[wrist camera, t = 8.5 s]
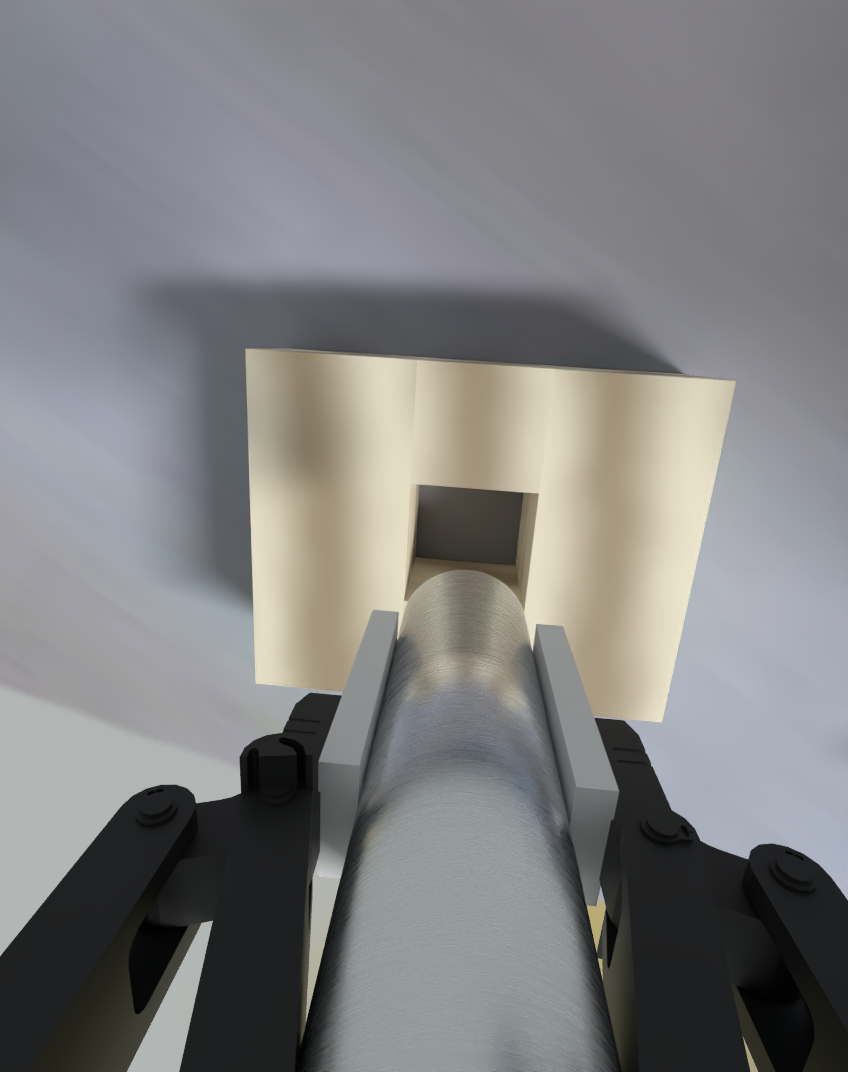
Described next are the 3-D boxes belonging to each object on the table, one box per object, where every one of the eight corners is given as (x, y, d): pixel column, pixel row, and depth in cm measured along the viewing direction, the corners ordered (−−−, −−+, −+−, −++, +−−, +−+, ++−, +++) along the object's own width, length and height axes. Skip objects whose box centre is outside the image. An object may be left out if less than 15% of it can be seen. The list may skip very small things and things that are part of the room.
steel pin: (532, 575, 18) (701, 1164, 5) (518, 686, 20) (625, 1393, 6) (405, 564, 19) (251, 1108, 5) (399, 675, 20) (261, 1340, 7)
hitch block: (684, 374, 29) (736, 381, 24) (630, 659, 34) (661, 722, 29) (287, 348, 30) (245, 348, 25) (290, 628, 35) (255, 683, 30)
